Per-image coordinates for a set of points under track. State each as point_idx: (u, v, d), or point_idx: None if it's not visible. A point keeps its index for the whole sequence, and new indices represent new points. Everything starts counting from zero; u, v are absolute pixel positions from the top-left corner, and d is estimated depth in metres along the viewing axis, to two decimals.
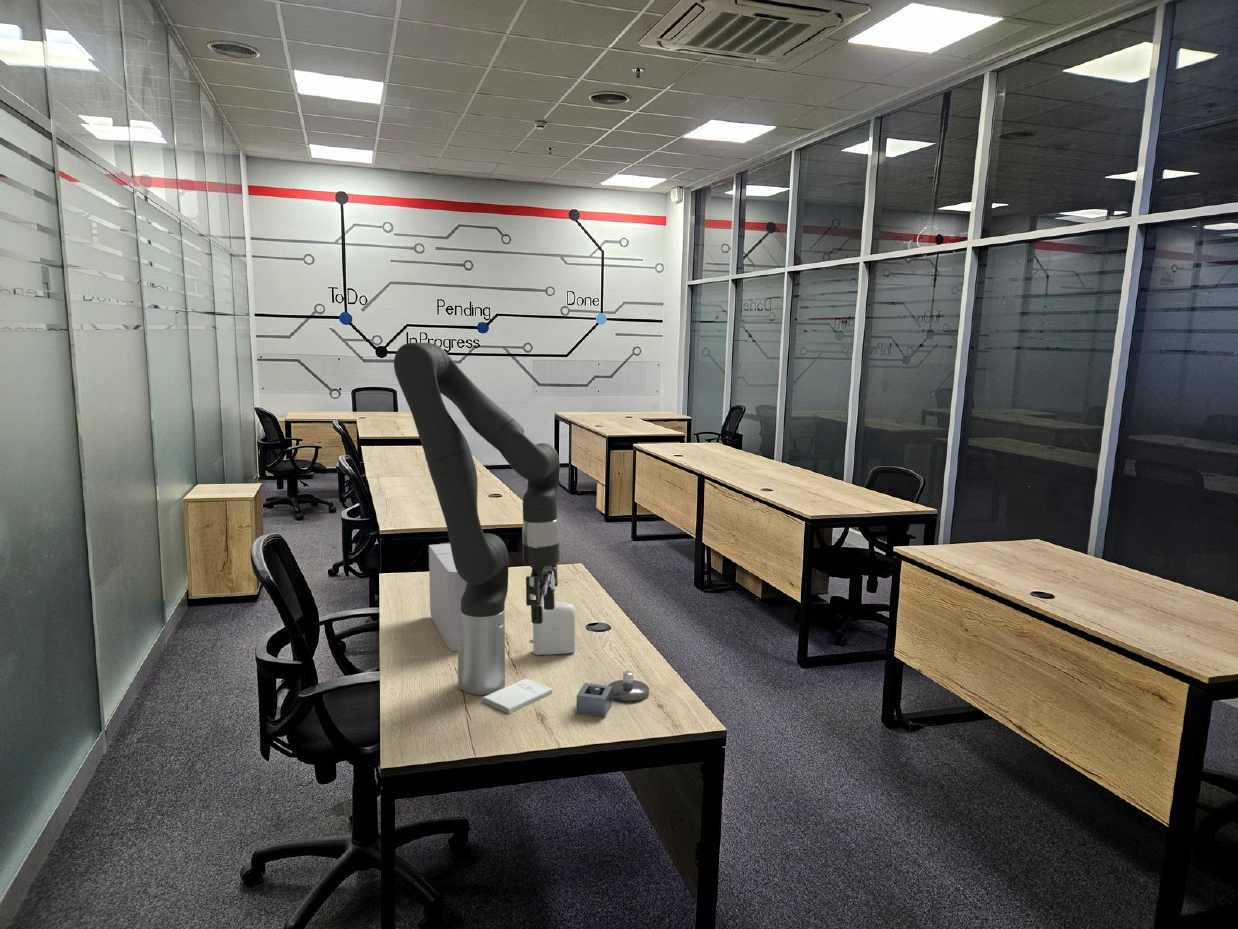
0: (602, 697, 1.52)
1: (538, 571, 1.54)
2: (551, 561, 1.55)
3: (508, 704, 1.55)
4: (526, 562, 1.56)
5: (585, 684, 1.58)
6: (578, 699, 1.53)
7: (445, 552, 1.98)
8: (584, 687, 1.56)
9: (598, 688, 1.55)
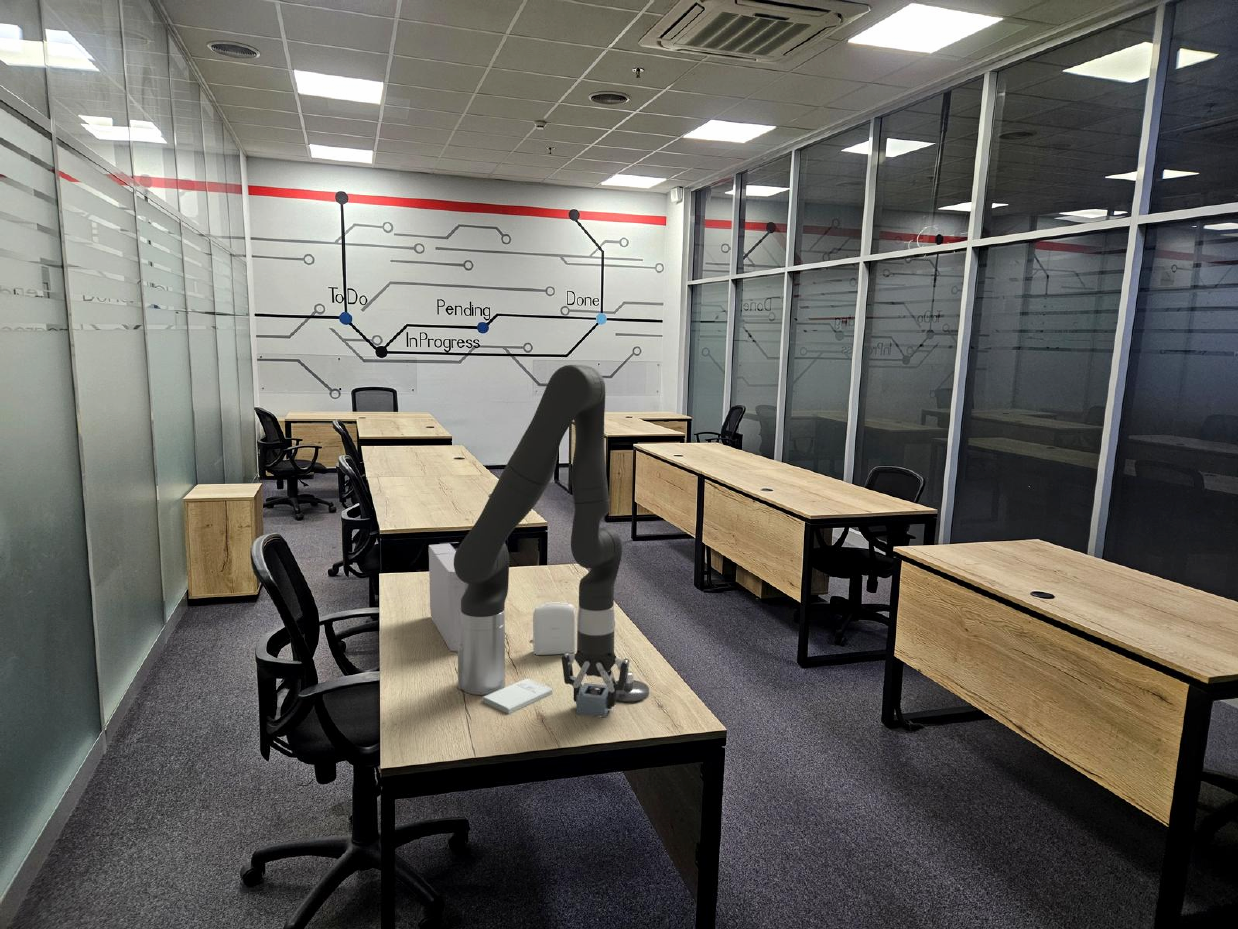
0: (602, 697, 1.52)
1: (614, 653, 1.54)
2: None
3: (507, 704, 1.55)
4: (607, 651, 1.51)
5: (585, 684, 1.58)
6: (578, 699, 1.53)
7: (445, 552, 1.98)
8: (584, 687, 1.56)
9: (598, 688, 1.55)
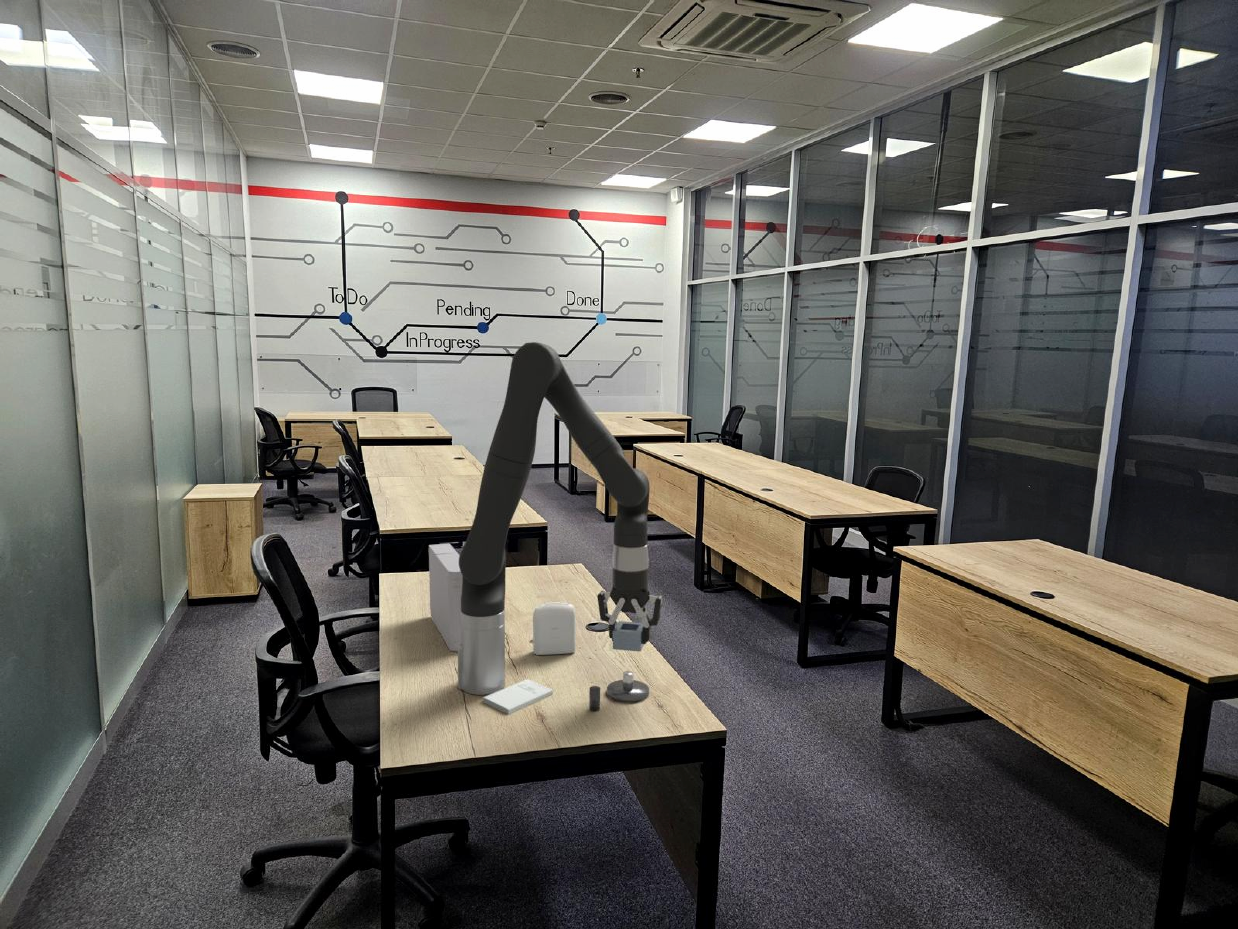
0: (637, 632, 1.58)
1: None
2: None
3: (507, 704, 1.55)
4: (641, 587, 1.57)
5: (619, 622, 1.64)
6: (614, 634, 1.59)
7: (445, 552, 1.98)
8: (619, 625, 1.62)
9: (598, 688, 1.55)
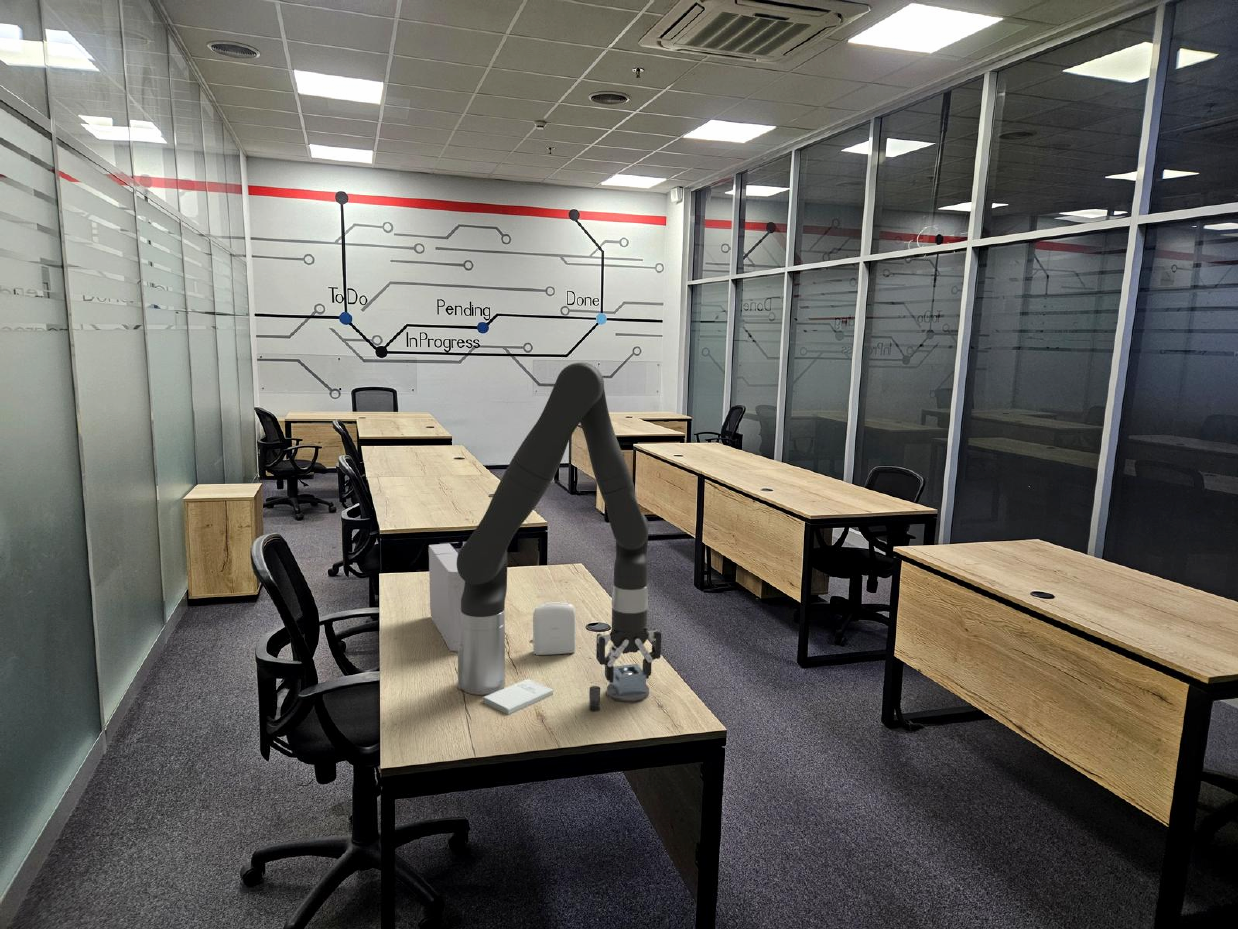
0: (642, 675, 1.61)
1: None
2: None
3: (507, 704, 1.55)
4: (646, 625, 1.60)
5: None
6: (620, 681, 1.59)
7: (445, 552, 1.98)
8: (617, 670, 1.63)
9: (598, 688, 1.55)
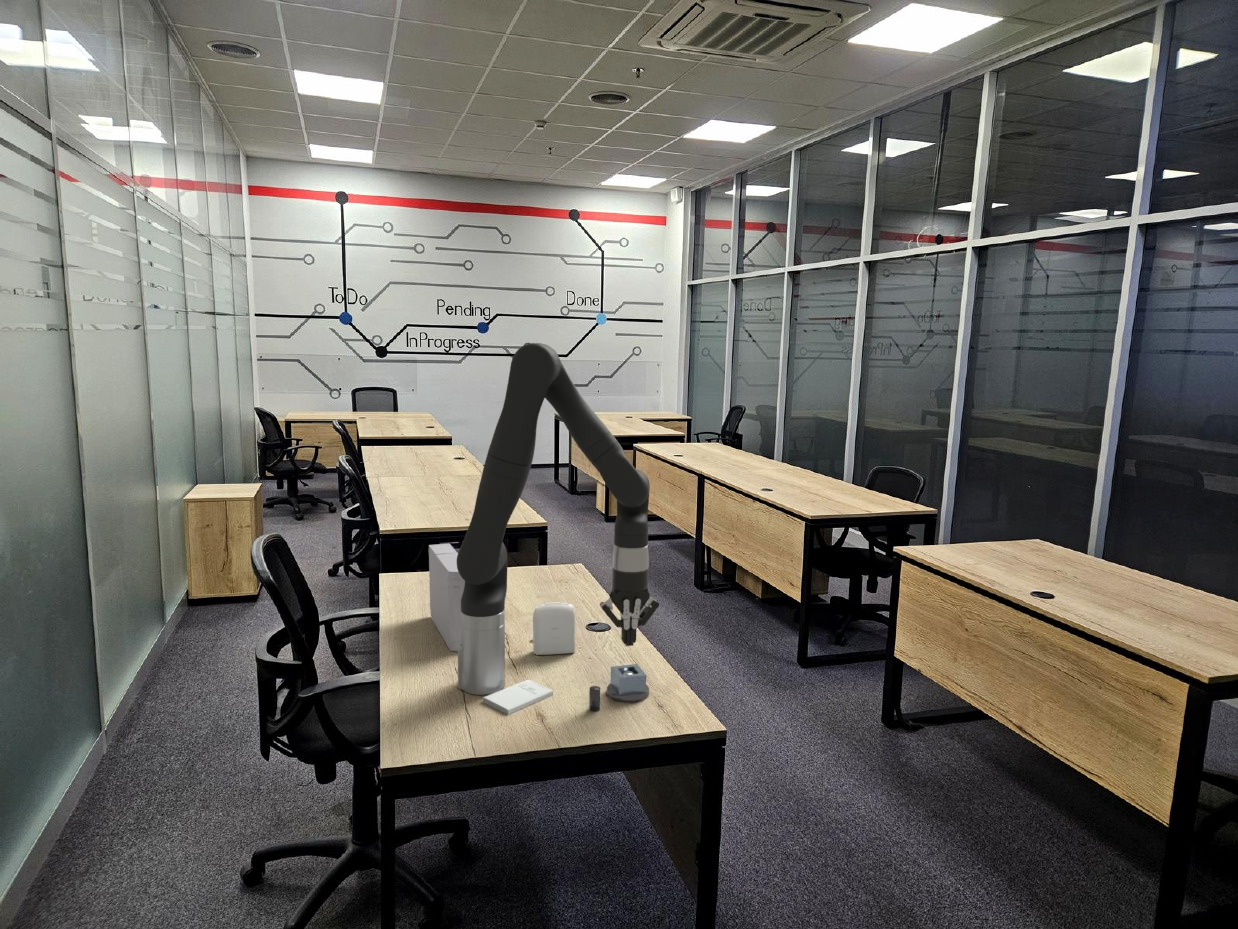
0: (642, 675, 1.61)
1: None
2: None
3: (507, 705, 1.54)
4: (646, 585, 1.58)
5: (613, 667, 1.64)
6: (620, 681, 1.59)
7: (445, 552, 1.98)
8: (617, 670, 1.63)
9: (598, 688, 1.55)
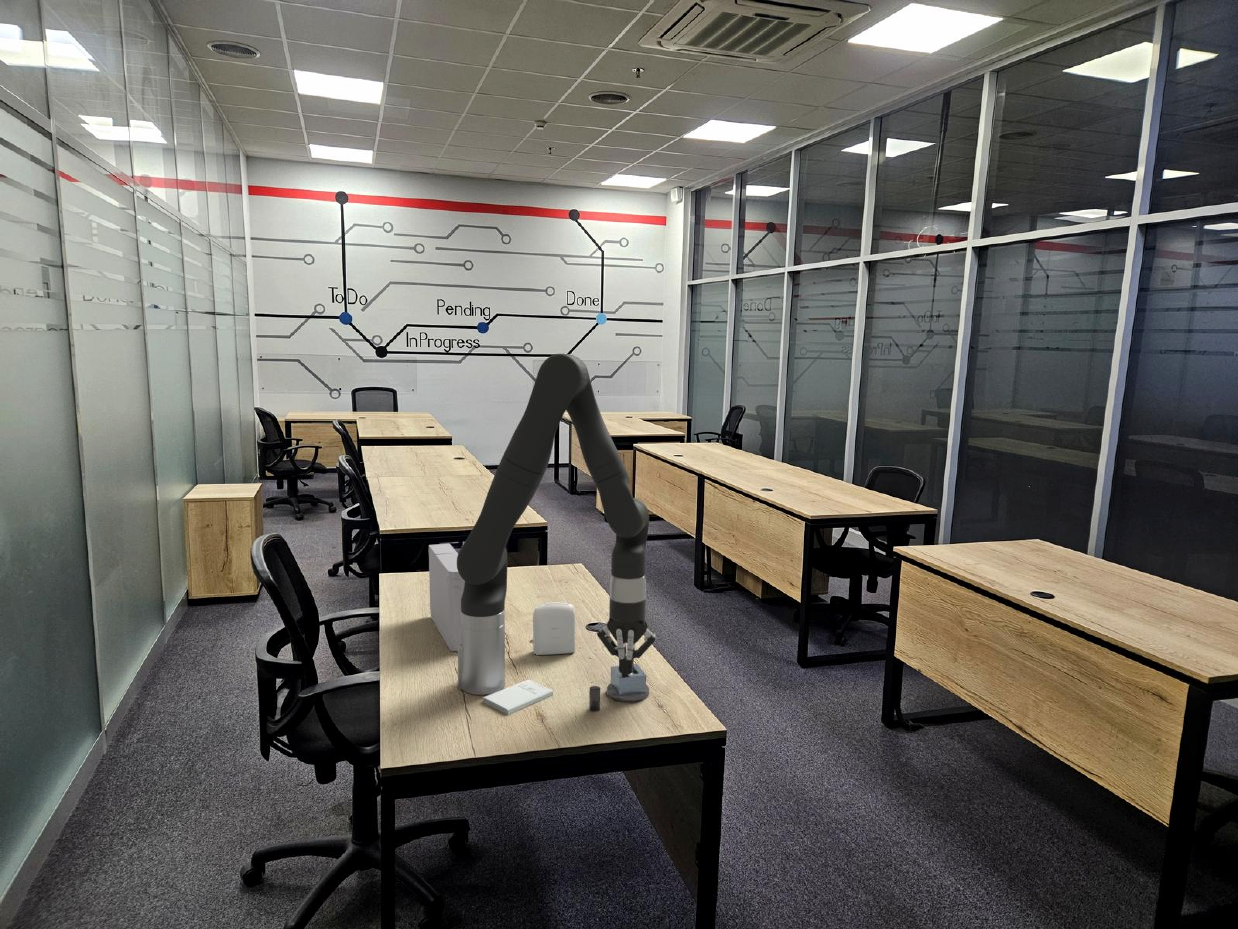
0: (642, 675, 1.61)
1: (645, 621, 1.58)
2: None
3: (507, 705, 1.54)
4: (639, 618, 1.55)
5: (613, 667, 1.64)
6: (620, 681, 1.59)
7: (445, 552, 1.98)
8: (617, 670, 1.63)
9: (598, 688, 1.55)
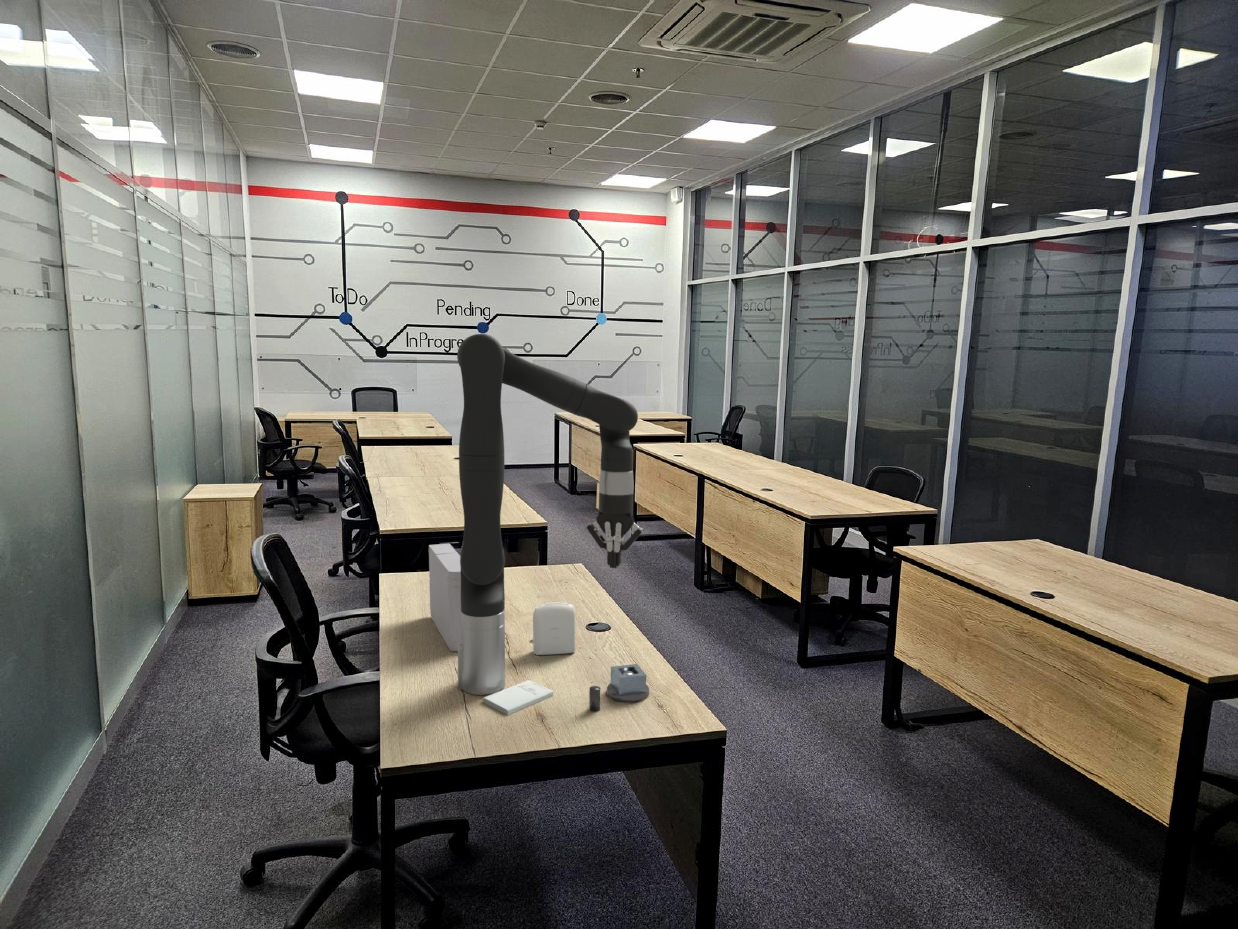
0: (642, 675, 1.61)
1: (632, 515, 1.67)
2: None
3: (507, 705, 1.54)
4: (626, 511, 1.64)
5: (613, 667, 1.64)
6: (620, 681, 1.59)
7: (445, 552, 1.98)
8: (617, 670, 1.63)
9: (598, 688, 1.55)
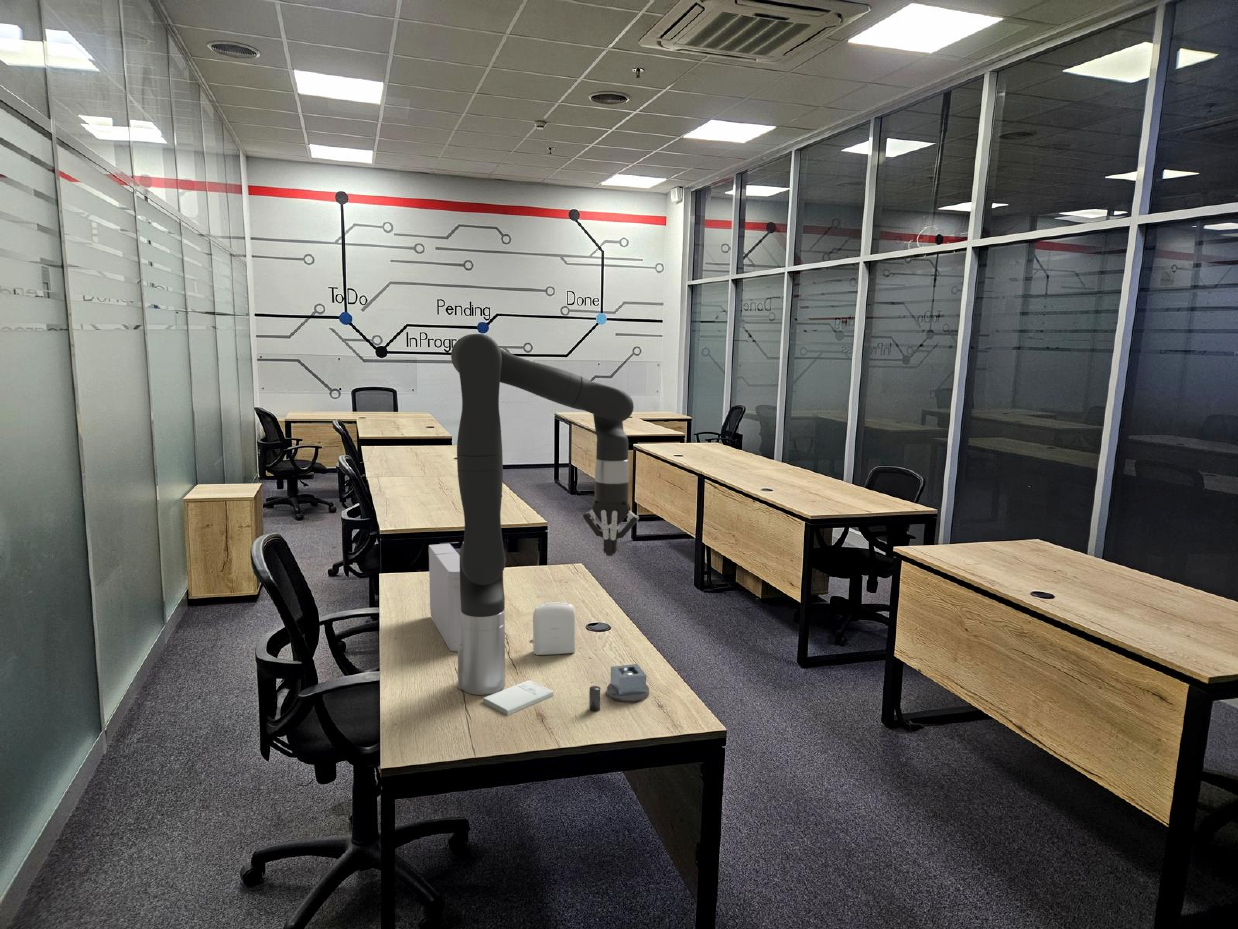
0: (642, 675, 1.61)
1: (628, 504, 1.69)
2: None
3: (507, 705, 1.54)
4: (622, 499, 1.67)
5: (613, 667, 1.64)
6: (620, 681, 1.59)
7: (445, 552, 1.98)
8: (617, 670, 1.63)
9: (598, 688, 1.55)
